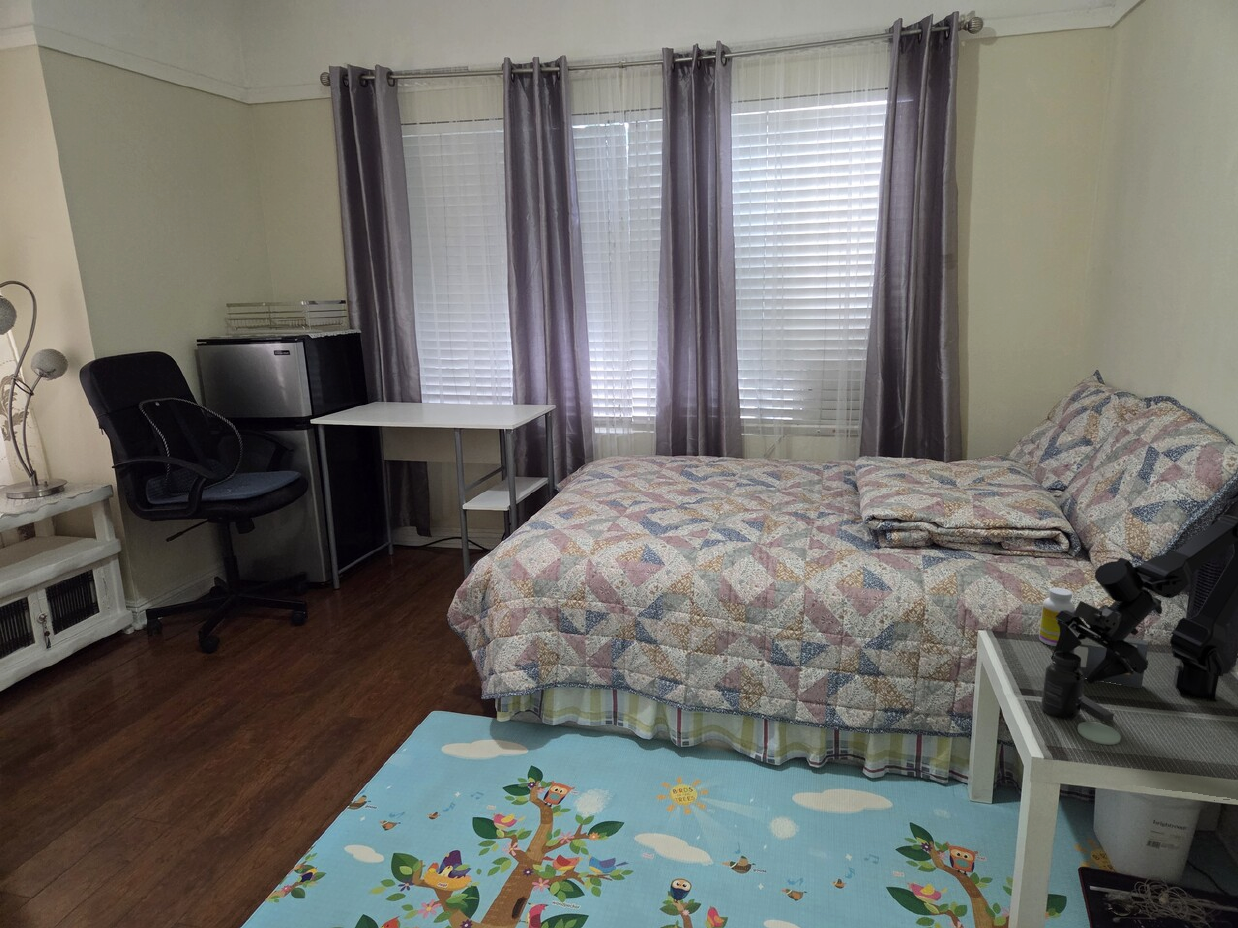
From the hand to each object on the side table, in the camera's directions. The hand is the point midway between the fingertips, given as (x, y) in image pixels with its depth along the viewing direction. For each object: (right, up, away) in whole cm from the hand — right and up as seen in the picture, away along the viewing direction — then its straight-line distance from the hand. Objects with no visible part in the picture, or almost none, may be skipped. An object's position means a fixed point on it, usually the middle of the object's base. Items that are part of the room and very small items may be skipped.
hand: (1069, 670), depth 159 cm
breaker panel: (+14, -5, +15) cm, 21 cm away
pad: (+2, -10, -6) cm, 12 cm away
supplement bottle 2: (-1, -9, +2) cm, 9 cm away
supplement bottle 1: (+14, -1, +32) cm, 35 cm away
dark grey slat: (+5, -8, +5) cm, 11 cm away
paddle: (+9, -2, +13) cm, 16 cm away
